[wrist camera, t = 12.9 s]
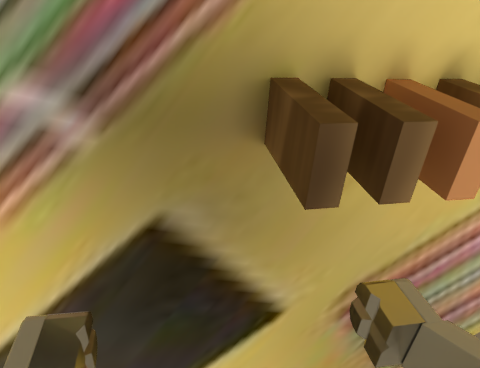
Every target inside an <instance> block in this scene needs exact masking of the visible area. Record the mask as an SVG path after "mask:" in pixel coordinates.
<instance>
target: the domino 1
mask: <svg viewBox="0 0 480 368" xmlns="http://www.w3.org/2000/svg"><path fill="white" fill-rule="evenodd" d="M357 126H358V122H356V121H355V120H354V119H352V118H351V117H350V116H348V115H347V114H346V113H344V112H343V111H341V110H340V109H339V108H337V107H336V106H335V105H333V104H332V103H331V102H329V101H328V100H327V99H325V98H324V97H323V96H321V95H320V94H319V93H317V92H316V91H315V90H313V89H312V88H311V87H309V86H308V85H307V84H305V83H304V82H303V81H301V80H300V79H299V78H271V81H270V92H269V102H268V113H267V123H266V134H265V145H266V147H267V148H268V150H269V152H270V153H271V155H272V157H273V158H274V160H275V161H276V163H277V165H278V166H279V168H280V170H281V171H282V173H283V174H284V176H285V178H286V179H287V181H288V183H289V184H290V186H291V187H292V189H293V191H294V192H295V194H296V196H297V197H298V199H299V200H300V202H301V204H302V205H303V207H304V209H305V210H306V209H320V208H335V207H339V203H340V199H341V195H342V190H343V186H344V182H345V178H346V173H347V169H348V165H349V161H350V156H351V152H352V148H353V144H354V139H355V135H356V131H357Z"/></svg>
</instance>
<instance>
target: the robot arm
mask: <svg viewBox="0 0 480 368" xmlns="http://www.w3.org/2000/svg"><path fill="white" fill-rule="evenodd" d="M355 293H356V294H357V296H358V297H357V298H356V299H355V300H353V301H352V303H351V307H350V319H351V322H352V325H353V328H354V329H355V331H356V333H357V334H358V335H359V336H361V337H362V338H364V339H365V342H364V348H365V350H366V352H367V354H368V355H369V357H370V359H371V361H372V363H373V364H374V366H375V368H376V367H384V366H393V365H401V364H402V367H403V368H480V339H479V338H477V337H475V336H473V335H472V334H470V333H468V332H467V331H465V330H463V329H461V328H460V327H458V326H456V325H455V324H453V323H451V322H449V321H448V320H446V321H443V320H442V319H441V318H440V317H439V315H438V314H437V313H436V312H435V311H434V309H433V308H432V307H431V306H430V304H429V303H428V302H427V301H426V300H425V298H424V297H423V296H422V295H421V293H420V292H419V291H418V290H417V289H416V287H415V286H414V285H413V284H412V282H411V281H410V280H408V279H406V278H402V279H392V280H381V281H373V282H364V283H360V284H359V285H358V286H357V288H356V291H355ZM92 324H93V318H92V314H91V312H77V313H64V314H51V315H41V316H30V317H26V318H25V320H24V321H23V322H22V324H21V326H20V328H19V331H18V333H17V336H16V338H15V341H14V343H13V345H12V348H11V350H10V353H9V355H8V358H7V360H6V362H5V365H4V367H3V368H95V366H96V360H97V336H96V331H94V330H93V329H92Z"/></svg>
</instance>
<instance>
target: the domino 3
mask: <svg viewBox="0 0 480 368" xmlns="http://www.w3.org/2000/svg"><path fill="white" fill-rule="evenodd" d="M383 93H385V94H387V95H389V96H391V97H393V98H395V99H397V100H398V101H400V102H402V103H404V104H406V105H408V106H410V107H412V108H414V109H416V110H418V111H420V112H421V113H423V114H425V115H427V116H429V117H431V118H433V119H435V120H437V121H438V124H437V127H436V130H435V133H434V135H433V138H432V141H431V144H430V147H429V149H428V152H427V155H426V158H425V161H424V164H423V166H422V169H421V172H420V175H419V178H418V179H419V180H421V181H422V182H423V183H424V184H426V185H427V186H428V187H429V188H431V189H432V190H433V191H435V192H436V193H437V194H438V195H440V196H441V197H442V198H443V199H445V200H461V199H474V198H475V196H476V194H477V191H478V189H479V187H480V108H478V107H475V106H473V105H471V104H468V103H466V102H463V101H461V100H459V99H456V98H454V97H451V96H449V95H447V94H444V93H442V92H439V91H437V90H434V89H432V88H430V87H427V86H425V85H422V84H420V83H418V82H415V81H413V80H405V79H387V81H386V85H385V88H384V92H383Z"/></svg>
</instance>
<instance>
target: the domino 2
mask: <svg viewBox="0 0 480 368" xmlns="http://www.w3.org/2000/svg"><path fill="white" fill-rule="evenodd" d="M327 100H328V101H329V102H331V103H332V104H333V105H335V106H336V107H337V108H339V109H340V110H341V111H343V112H344V113H346V114H347V115H348V116H350V117H351V118H352V119H354V120H355V121H356V122H358V126H357V131H356V135H355V139H354V144H353V148H352V152H351V156H350V161H349V165H348V169H347V171H348V172H349V173H350V175H351V176H352V177H353V178H354V179H355V180H356V181H357V182H358V183H359V184H360V185H361V186H362V187H363V188H364V189H365V190H366V191H367V192H368V193H369V194H370V196H371V197H372V198H373V199H374V200H375V201H376V202H377V203H378V204H393V203H407V202H410V200H411V197H412V194H413V192H414V189H415V186H416V183H417V180H418V178H419V175H420V172H421V169H422V166H423V164H424V161H425V158H426V155H427V152H428V149H429V147H430V144H431V141H432V138H433V135H434V133H435V130H436V127H437V124H438V121H437V120H435V119H433V118H431V117H429V116H427V115H425V114H423V113H421V112H420V111H418V110H416V109H414V108H412V107H410V106H408V105H406V104H404V103H402V102H400V101H398V100H397V99H395V98H393V97H391V96H389V95H387V94H385V93H383V92H381V91H379V90H377V89H376V88H374V87H372V86H370V85H368V84H366V83H364V82H362V81H360V80H358V79H356V78H331V81H330V87H329V92H328V98H327Z"/></svg>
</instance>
